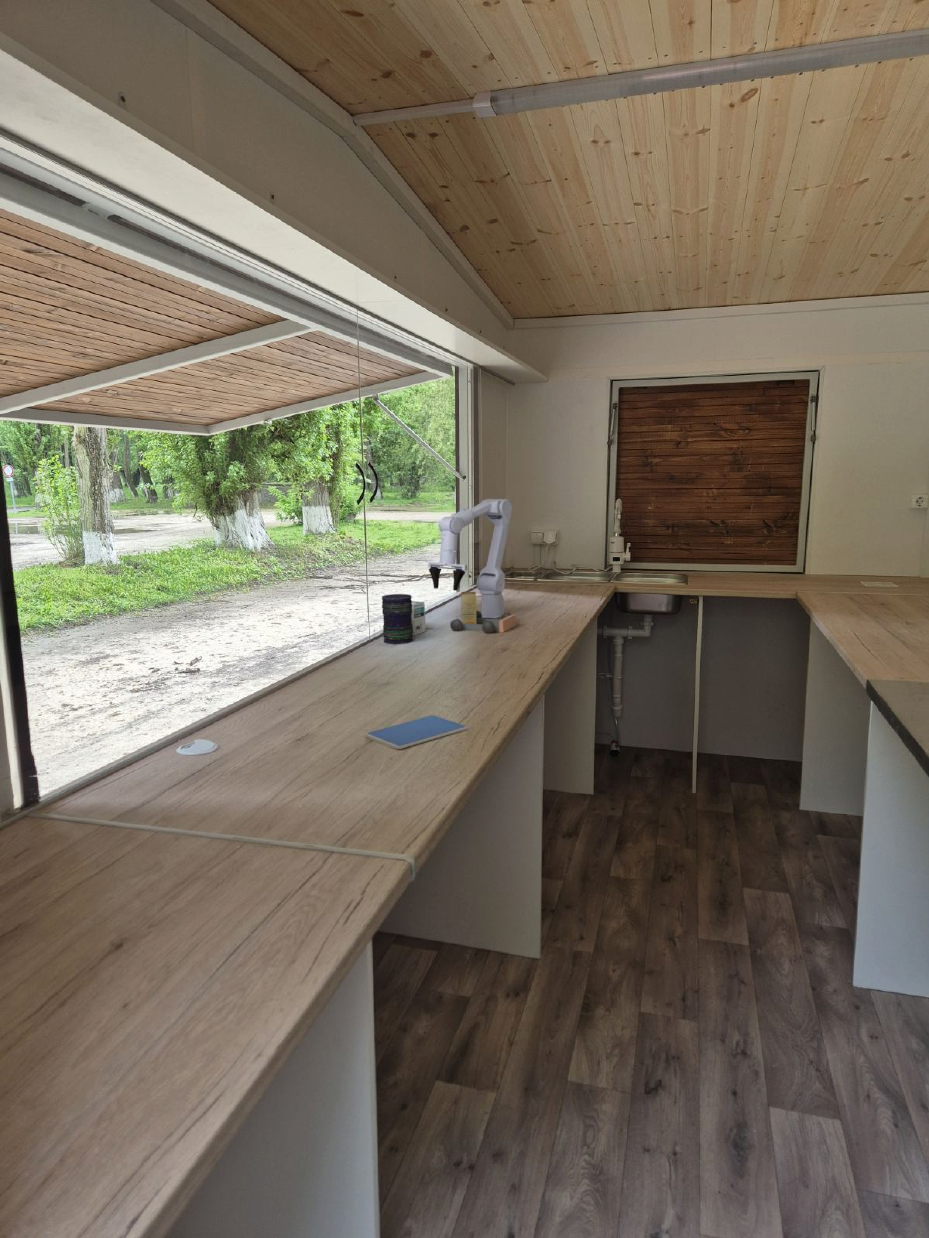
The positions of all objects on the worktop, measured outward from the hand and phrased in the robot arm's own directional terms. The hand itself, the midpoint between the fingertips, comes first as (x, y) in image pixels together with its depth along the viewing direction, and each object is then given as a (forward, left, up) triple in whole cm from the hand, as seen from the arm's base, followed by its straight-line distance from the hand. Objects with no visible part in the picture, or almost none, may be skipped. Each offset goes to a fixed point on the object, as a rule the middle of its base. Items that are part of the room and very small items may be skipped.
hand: (445, 589), depth 290 cm
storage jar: (+27, -4, -14) cm, 31 cm away
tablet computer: (+108, +46, -14) cm, 119 cm away
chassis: (-3, +14, -13) cm, 19 cm away
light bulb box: (+13, -8, -14) cm, 21 cm away
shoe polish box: (-3, +8, -14) cm, 16 cm away
